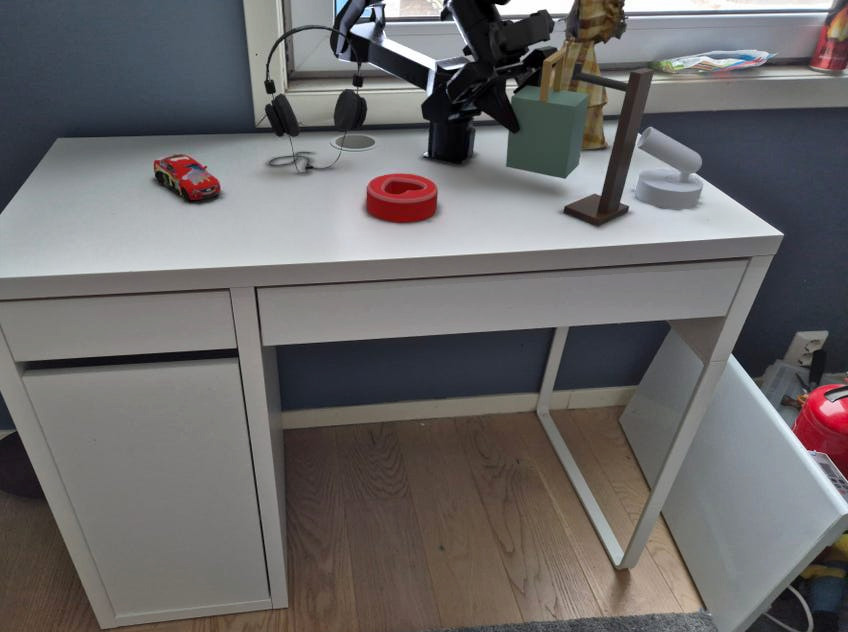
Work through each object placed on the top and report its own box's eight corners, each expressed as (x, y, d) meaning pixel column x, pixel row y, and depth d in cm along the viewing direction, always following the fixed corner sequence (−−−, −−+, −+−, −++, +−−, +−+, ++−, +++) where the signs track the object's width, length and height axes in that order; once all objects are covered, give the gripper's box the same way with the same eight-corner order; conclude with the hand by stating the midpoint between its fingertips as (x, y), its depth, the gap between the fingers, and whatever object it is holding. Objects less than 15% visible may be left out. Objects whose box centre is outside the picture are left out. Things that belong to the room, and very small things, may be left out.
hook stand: (534, 201, 92) (559, 60, 81) (565, 189, 96) (592, 52, 85) (598, 226, 86) (634, 77, 75) (627, 212, 89) (666, 68, 78)
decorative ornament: (395, 188, 95) (396, 167, 93) (449, 206, 90) (451, 184, 88) (352, 208, 89) (351, 186, 87) (408, 229, 84) (409, 206, 83)
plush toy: (509, 119, 119) (546, -32, 100) (581, 120, 120) (631, -28, 101) (528, 163, 110) (574, 6, 91) (606, 164, 111) (666, 9, 92)
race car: (227, 198, 92) (224, 170, 89) (192, 207, 89) (187, 179, 87) (184, 170, 100) (180, 144, 98) (151, 178, 97) (145, 151, 95)
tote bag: (505, 166, 95) (514, 56, 85) (520, 153, 98) (530, 46, 88) (565, 179, 91) (581, 65, 81) (578, 165, 94) (596, 53, 84)
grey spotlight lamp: (638, 117, 93) (712, 122, 91) (621, 182, 98) (691, 188, 97) (646, 136, 86) (727, 142, 84) (628, 205, 92) (703, 211, 90)
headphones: (349, 148, 109) (349, 14, 97) (371, 172, 100) (373, 28, 88) (260, 157, 105) (248, 18, 93) (274, 182, 96) (263, 34, 84)
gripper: (471, -7, 80) (527, 107, 80) (564, -18, 90) (614, 83, 90) (422, 51, 90) (473, 152, 90) (511, 34, 99) (556, 126, 99)
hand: (531, 127), depth 92 cm, fingers closed on tote bag, 6 cm apart
